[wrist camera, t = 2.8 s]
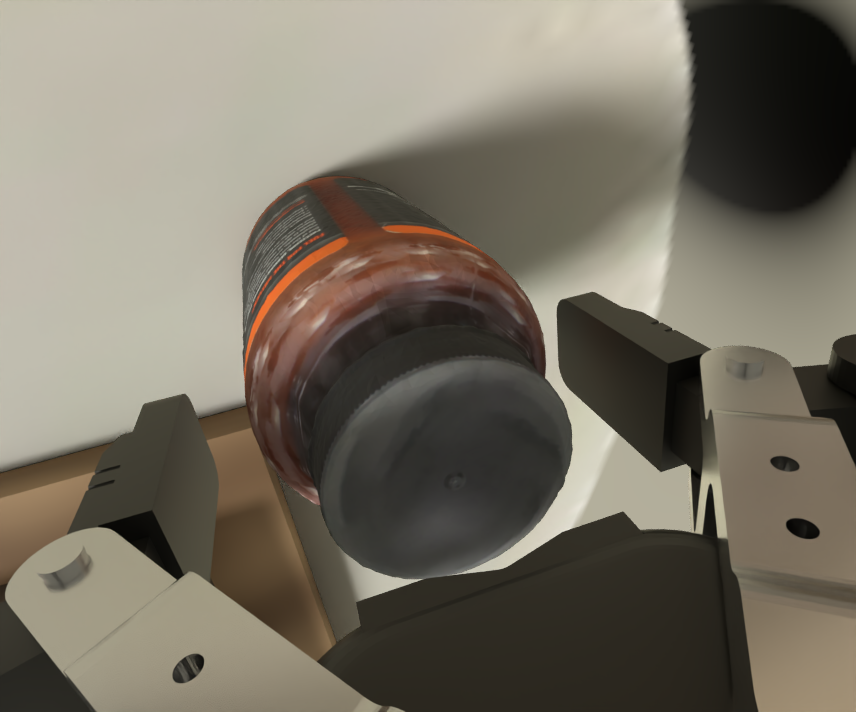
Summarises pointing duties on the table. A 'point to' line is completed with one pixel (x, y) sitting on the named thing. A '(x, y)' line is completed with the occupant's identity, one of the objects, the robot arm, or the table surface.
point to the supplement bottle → (397, 380)
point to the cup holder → (233, 539)
